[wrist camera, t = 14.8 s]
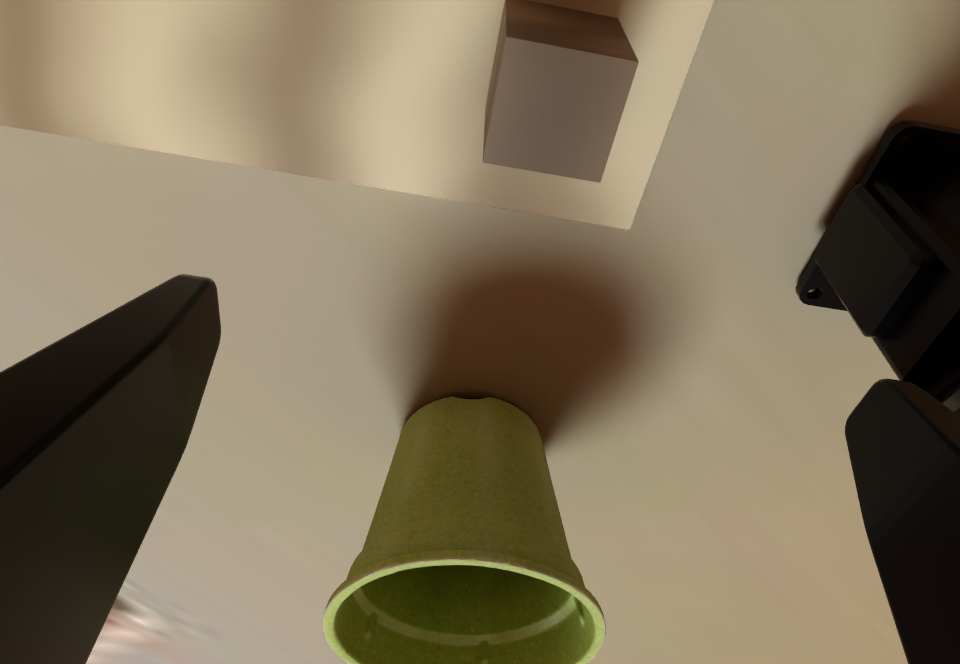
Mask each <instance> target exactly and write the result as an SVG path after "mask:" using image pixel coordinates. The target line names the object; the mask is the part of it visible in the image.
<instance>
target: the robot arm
mask: <svg viewBox="0 0 960 664" xmlns="http://www.w3.org/2000/svg"><path fill="white" fill-rule="evenodd" d="M910 134H911V136H910V139H909V140H908V141H907V142H906V143H904V144H902V145H899V141H900V140H901V139H902V138H903V137H905V136H907V135H910ZM814 287H818V288H817V289H816V290H815V291H813V292H808V291H809V290H810V289H812V288H814ZM796 293H797V295H798V297H799V299H800V300H801V301H802V302H803V303H805V304H807V305H813V306H819V307H825V308H832V309H838V310H844V311H848V312H849V314H850V315H851V317H852V319H853V320H854V322H855V323H856V325H857V326H858V328H859V329H860V331H861V332H862V334H863V335H864V336H866V337H872V339H873V340H874V342H875V343H876V345H877V347H878V348H879V350H880V351H881V353H882V354H883V356H884V357H885V359H886V360H887V362H888V363H889V365H890V366H891V368H892V369H893V371H894V372H895V374H896V375H897V377H898V379H899V380H900V381H899V380H893V379H881V380H879V381H877V382H876V383H874V385H873V386H872V387H871V388H870V389H869V391H868V392H867V393H866V395H865V396H864V397H863V398H862V400H861V401H860V402H859V404H858V405H857V406H856V407H855V409H854V410H853V411H852V413H851V414H850V415H849V417H848V419H847V421H846V426H845V436H846V441H847V445H848V450H849V455H850V460H851V465H852V469H853V474H854V479H855V484H856V488H857V493H858V498H859V503H860V508H861V512H862V517H863V521H864V525H865V529H866V533H867V537H868V540H869V543H870V547H871V550H872V553H873V556H874V559H875V562H876V566H877V569H878V572H879V575H880V578H881V581H882V584H883V587H884V590H885V593H886V596H887V600H888V603H889V606H890V609H891V612H892V615H893V618H894V621H895V624H896V627H897V631H898V634H899V637H900V640H901V643H902V646H903V649H904V652H905V655H906V658H907V661H908V664H960V130H958V129H953V128H947V127H942V126H937V125H931V124H926V123H921V122H916V121H903V122H900V123H897V124H896V125H894V126H893V127H891V128H890V129H889V131H888V132H887V133H886V134H885V136H884V138H883V139H882V141H881V143H880V145H879V146H878V148H877V150H876V151H875V153H874V155H873V156H872V158H871V160H870V162H869V163H868V165H867V167H866V168H865V170H864V172H863V173H862V175H861V177H860V178H859V180H858V182H857V184H856V185H855V187H854V188H852V189H851V190H850V191H849V193H848V195H847V196H846V198H845V200H844V201H843V203H842V205H841V206H840V208H839V210H838V212H837V213H836V215H835V217H834V218H833V220H832V222H831V223H830V225H829V227H828V229H827V230H826V232H825V234H824V235H823V237H822V239H821V241H820V242H819V244H818V246H817V247H816V249H815V251H814V253H813V258H812V260H811V262H810V263H809V265H808V267H807V268H806V270H805V272H804V273H803V275H802V277H801V278H800V280H799V282H798V284H797V286H796ZM220 336H221V324H220V314H219V304H218V294H217V287H216V285H215V282H214V281H213V280H212V279H210V278H206V277H200V276H193V275H186V274H181V275H177V276H175V277H173V278H171V279H170V280H168V281H166V282H164V283H162V284H160V285H159V286H157V287H155V288H153V289H151V290H149V291H148V292H146V293H144V294H142V295H140V296H139V297H137V298H135V299H133V300H131V301H129V302H128V303H126V304H124V305H122V306H120V307H118V308H117V309H115V310H113V311H111V312H109V313H108V314H106V315H104V316H102V317H100V318H98V319H97V320H95V321H93V322H91V323H89V324H87V325H86V326H84V327H82V328H80V329H78V330H76V331H75V332H73V333H71V334H69V335H67V336H66V337H64V338H62V339H60V340H58V341H56V342H55V343H53V344H51V345H49V346H47V347H45V348H44V349H42V350H40V351H38V352H36V353H35V354H33V355H31V356H29V357H27V358H25V359H24V360H22V361H20V362H18V363H16V364H14V365H13V366H11V367H9V368H7V369H5V370H4V371H2V372H0V664H86V662H87V660H88V657H89V655H90V653H91V651H92V649H93V647H94V645H95V642H96V640H97V638H98V636H99V634H100V632H101V630H102V627H103V625H104V623H105V621H106V619H107V617H108V614H109V612H110V610H111V608H112V606H113V604H114V602H115V599H116V597H117V595H118V593H119V591H120V589H121V587H122V584H123V582H124V580H125V578H126V576H127V574H128V572H129V569H130V567H131V565H132V563H133V561H134V559H135V556H136V554H137V552H138V550H139V548H140V546H141V544H142V541H143V539H144V537H145V535H146V533H147V531H148V529H149V526H150V524H151V522H152V520H153V518H154V516H155V514H156V511H157V509H158V507H159V505H160V503H161V501H162V498H163V496H164V494H165V492H166V490H167V488H168V486H169V483H170V481H171V479H172V477H173V475H174V473H175V471H176V468H177V466H178V464H179V462H180V460H181V457H182V455H183V453H184V450H185V448H186V446H187V443H188V440H189V437H190V434H191V431H192V428H193V425H194V422H195V419H196V416H197V412H198V409H199V406H200V403H201V400H202V397H203V394H204V391H205V387H206V384H207V381H208V378H209V375H210V372H211V369H212V366H213V362H214V359H215V356H216V353H217V350H218V347H219V342H220Z"/></svg>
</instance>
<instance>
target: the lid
mask: <svg viewBox="0 0 960 664" xmlns="http://www.w3.org/2000/svg"><path fill="white" fill-rule="evenodd" d="M713 2H714V0H0V125H3V126H9V127H15V128H21V129H27V130H33V131H39V132H45V133H51V134H57V135H63V136H69V137H75V138H81V139H87V140H93V141H99V142H105V143H111V144H117V145H123V146H129V147H135V148H141V149H147V150H153V151H159V152H165V153H171V154H177V155H183V156H189V157H195V158H201V159H207V160H213V161H219V162H225V163H231V164H237V165H243V166H249V167H255V168H261V169H267V170H273V171H279V172H285V173H291V174H297V175H303V176H309V177H315V178H321V179H327V180H333V181H339V182H345V183H351V184H357V185H363V186H369V187H375V188H381V189H387V190H393V191H399V192H405V193H411V194H417V195H423V196H429V197H435V198H441V199H447V200H453V201H459V202H465V203H471V204H477V205H483V206H489V207H495V208H501V209H507V210H513V211H519V212H525V213H531V214H537V215H543V216H549V217H555V218H561V219H567V220H573V221H579V222H585V223H591V224H597V225H603V226H609V227H615V228H621V229H627V230H630V228H631V225H632V222H633V220H634V217H635V214H636V211H637V209H638V206H639V203H640V200H641V198H642V195H643V192H644V190H645V187H646V184H647V181H648V179H649V176H650V173H651V171H652V168H653V165H654V162H655V160H656V157H657V154H658V152H659V149H660V146H661V143H662V141H663V138H664V135H665V133H666V130H667V127H668V124H669V122H670V119H671V116H672V113H673V111H674V108H675V105H676V103H677V100H678V97H679V94H680V92H681V89H682V86H683V84H684V81H685V78H686V75H687V73H688V70H689V67H690V65H691V62H692V59H693V56H694V54H695V51H696V48H697V45H698V43H699V40H700V37H701V35H702V32H703V29H704V26H705V24H706V21H707V18H708V16H709V13H710V10H711V7H712V5H713Z"/></svg>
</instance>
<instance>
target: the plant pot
mask: <svg viewBox="0 0 960 664" xmlns="http://www.w3.org/2000/svg"><path fill="white" fill-rule="evenodd" d="M323 631H324V634H325V637H326V639H327V641H328V643H329V645H330V646H331V647H332V649H333V650H334V651H335V652H336V653H337V654H338V655H339V656H340V657H341V658H342V659H343V660H344V661H345V662H347V663H348V664H588V663H589V662H590V661H591V660H592V659H593V658H594V657H595V655H596V654H597V652H598V650H599V649H600V648H601V646H602V644H603V642H604V638H605V634H606V625H605V620H604V616H603V612H602V610H601V607H600V605H599V604H598V602H597V600H596V599H595V597H594V596H593V595H592V594H591V593H590V592H589V591H588V590H587V589H586V588H585V585H584V582H583V579H582V576H581V574H580V572H579V569H578V568H577V566H576V565H575V563H574V562H573V560H572V559H571V555H570V551H569V548H568V544H567V540H566V536H565V532H564V528H563V524H562V520H561V516H560V512H559V508H558V505H557V501H556V497H555V493H554V489H553V485H552V481H551V477H550V472H549V468H548V464H547V460H546V456H545V452H544V448H543V444H542V440H541V436H540V433H539V431H538V428H537V427H536V425H535V424H534V422H533V421H532V419H531V418H530V417H529V416H528V415H527V414H525V413H524V412H523V411H522V410H520V409H519V408H517V407H515V406H513V405H512V404H510V403H508V402H505V401H502V400H499V399H496V398H492V397H487V398H483V399H462V398H457V397H453V396H452V397H446V398H442V399H439V400H436V401H433V402H431V403H429V404H427V405H425V406H424V407H422V408H420V409H419V410H418V411H416V412H415V413H414V414H413V415H412V416H411V417H410V418H409V419H408V421H407V422H406V423H405V425H404V427H403V429H402V431H401V434H400V438H399V441H398V444H397V447H396V450H395V453H394V456H393V460H392V463H391V466H390V469H389V472H388V475H387V478H386V481H385V484H384V487H383V490H382V493H381V496H380V499H379V502H378V505H377V508H376V511H375V514H374V517H373V520H372V523H371V526H370V529H369V532H368V535H367V538H366V541H365V544H364V547H363V550H362V552H361V553H360V554H359V555H358V556H357V558H356V559H355V561H354V563H353V565H352V567H351V569H350V571H349V574H348V577H347V579H346V581H344V582H343V583H342V584H341V585H340V586H339V587H338V588H337V589H336V590H335V592H334V593H333V594H332V596H331V598H330V599H329V601H328V604H327V606H326V609H325V613H324V618H323Z"/></svg>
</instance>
